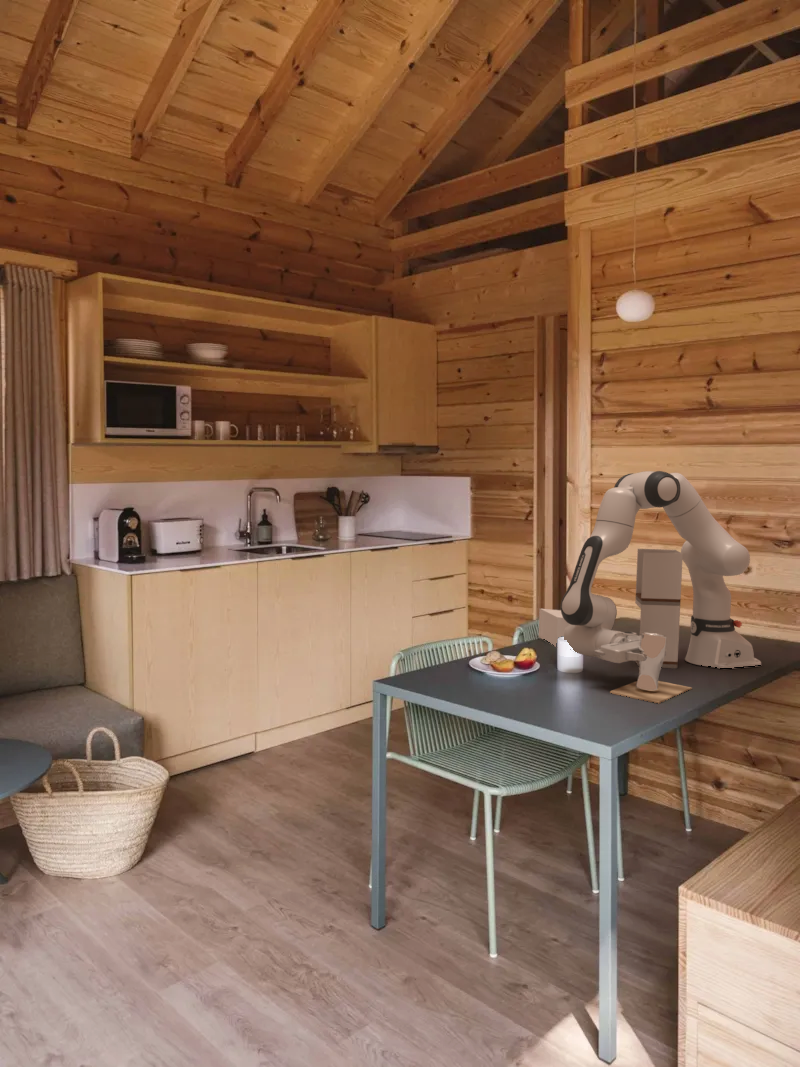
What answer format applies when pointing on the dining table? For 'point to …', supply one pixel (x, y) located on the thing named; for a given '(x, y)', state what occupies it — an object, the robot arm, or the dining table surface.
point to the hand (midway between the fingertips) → (655, 655)
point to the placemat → (651, 692)
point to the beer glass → (651, 660)
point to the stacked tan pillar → (660, 597)
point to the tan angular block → (551, 625)
